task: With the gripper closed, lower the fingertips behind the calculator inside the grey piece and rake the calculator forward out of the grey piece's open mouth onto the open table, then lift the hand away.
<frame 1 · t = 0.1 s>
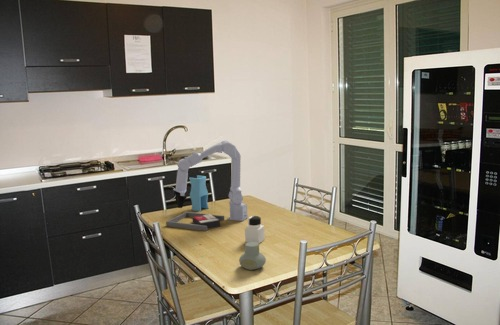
hand: (179, 205, 248), 10 cm above the table, tool pointing down, fingers open, 7 cm apart
light blue tall block: (199, 209, 279), on the table
grey piece: (196, 223, 252), on the table
medicine bottle: (255, 241, 221), on the table
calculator: (206, 225, 249), on the table
air freshener: (252, 267, 190), on the table
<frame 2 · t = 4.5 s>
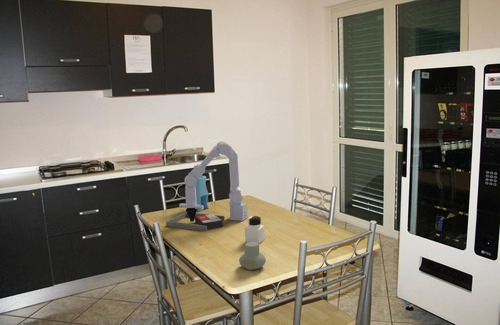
hand: (192, 221, 253), 1 cm above the table, tool pointing down, fingers closed
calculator: (208, 225, 248), on the table, touching gripper
everything else where it was.
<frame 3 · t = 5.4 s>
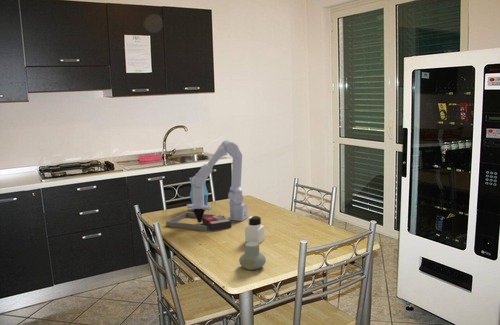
hand: (199, 221, 251), 1 cm above the table, tool pointing down, fingers closed
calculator: (216, 226, 247), on the table
everything else where it was.
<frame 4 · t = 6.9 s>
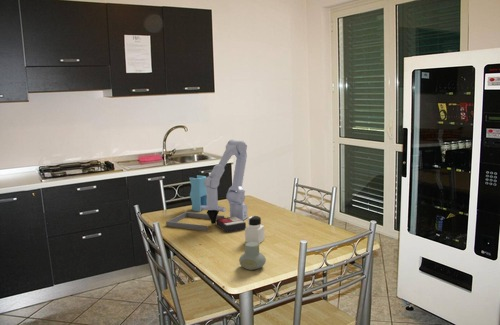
hand: (213, 223, 247), 1 cm above the table, tool pointing down, fingers closed
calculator: (231, 227, 243), on the table
everything else where it was.
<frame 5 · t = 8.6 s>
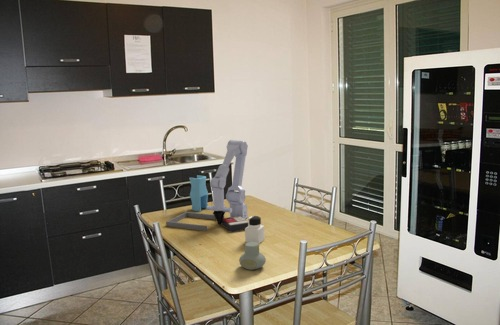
hand: (219, 224, 245), 1 cm above the table, tool pointing down, fingers closed
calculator: (235, 227, 244), on the table
everything else where it was.
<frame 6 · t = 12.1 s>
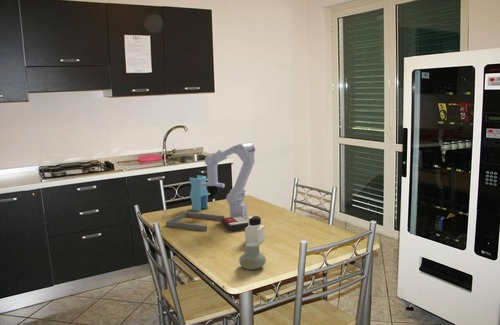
hand: (213, 198, 266), 9 cm above the table, tool pointing down, fingers closed
nothing on the table moved.
at the end: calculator inside the target area (3.3 cm from its centre), on the table; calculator moved 17.0 cm from its start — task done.
